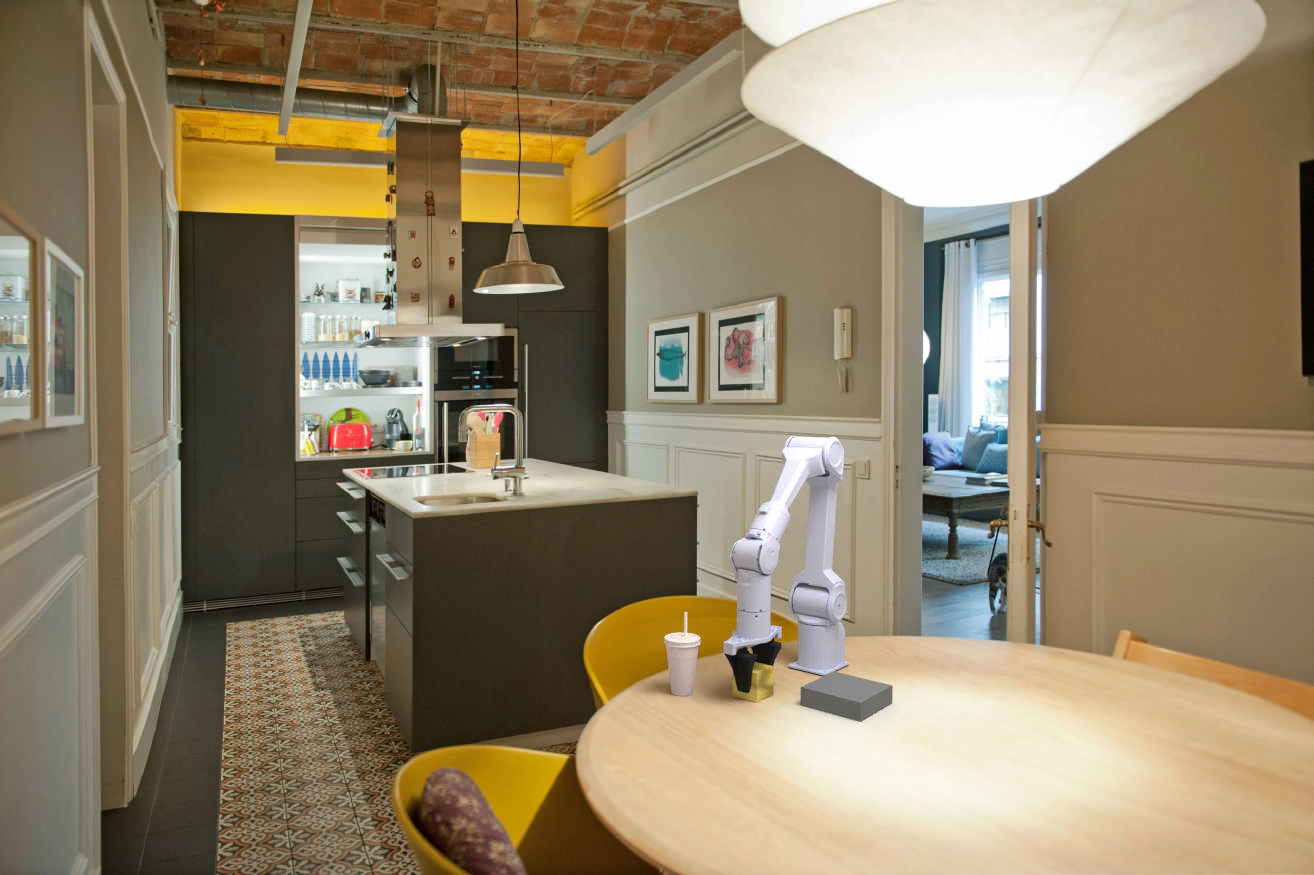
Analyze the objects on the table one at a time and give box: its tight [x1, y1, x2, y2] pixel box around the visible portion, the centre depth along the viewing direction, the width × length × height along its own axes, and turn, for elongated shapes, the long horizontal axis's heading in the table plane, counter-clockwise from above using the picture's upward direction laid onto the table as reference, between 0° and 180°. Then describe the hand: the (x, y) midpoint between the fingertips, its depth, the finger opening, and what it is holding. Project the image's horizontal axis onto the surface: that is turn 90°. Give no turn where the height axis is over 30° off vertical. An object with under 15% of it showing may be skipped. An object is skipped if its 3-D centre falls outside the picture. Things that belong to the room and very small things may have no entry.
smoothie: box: [663, 611, 702, 697], centre depth 144 cm, size 6×6×14 cm
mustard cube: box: [732, 662, 775, 704], centre depth 143 cm, size 5×5×5 cm
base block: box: [799, 671, 893, 723], centre depth 139 cm, size 11×11×4 cm
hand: (753, 687), depth 143 cm, fingers closed on mustard cube, 5 cm apart
